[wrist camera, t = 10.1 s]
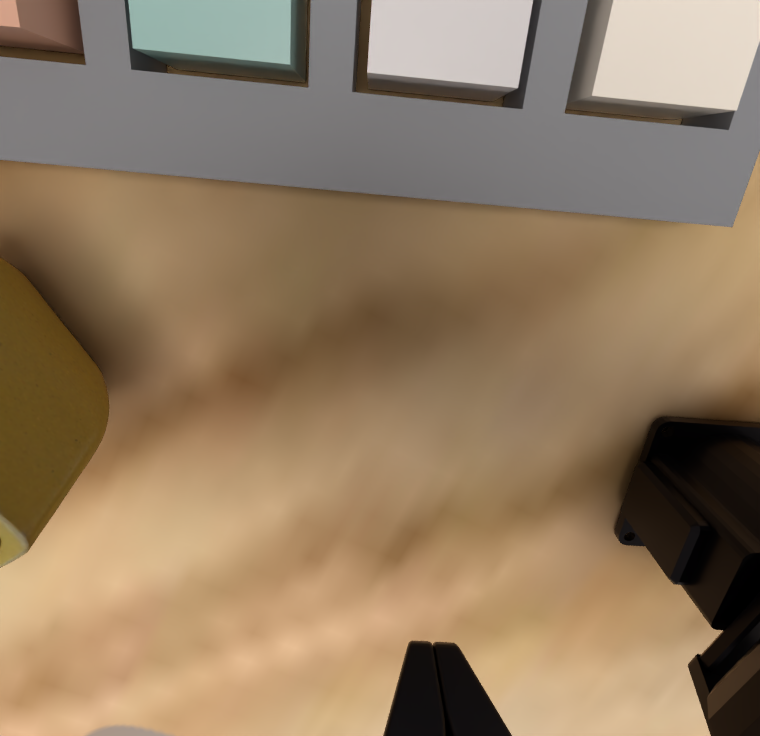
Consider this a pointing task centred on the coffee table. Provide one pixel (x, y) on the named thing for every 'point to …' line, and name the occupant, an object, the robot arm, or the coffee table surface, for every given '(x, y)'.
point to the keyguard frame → (377, 127)
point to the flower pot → (41, 412)
